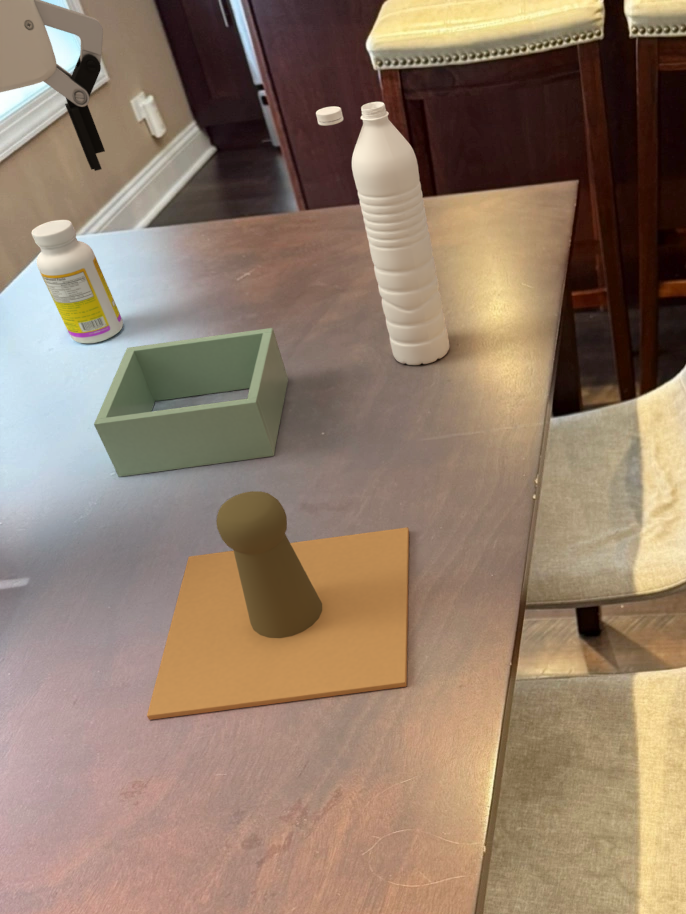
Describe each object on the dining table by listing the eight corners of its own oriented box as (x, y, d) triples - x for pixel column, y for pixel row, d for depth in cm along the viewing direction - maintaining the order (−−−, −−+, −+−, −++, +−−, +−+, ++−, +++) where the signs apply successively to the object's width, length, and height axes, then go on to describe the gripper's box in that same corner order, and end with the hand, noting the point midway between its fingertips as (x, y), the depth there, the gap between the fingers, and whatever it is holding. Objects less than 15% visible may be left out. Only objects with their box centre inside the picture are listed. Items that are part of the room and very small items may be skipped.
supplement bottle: (96, 318, 129) (51, 213, 120) (135, 323, 127) (92, 217, 118) (60, 342, 125) (10, 236, 116) (99, 348, 123) (52, 241, 114)
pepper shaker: (246, 602, 85) (201, 492, 77) (316, 582, 86) (278, 471, 78) (255, 646, 81) (208, 535, 73) (328, 625, 82) (290, 513, 74)
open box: (118, 477, 102) (93, 424, 98) (148, 398, 113) (126, 347, 109) (273, 456, 102) (255, 402, 97) (288, 378, 113) (272, 327, 108)
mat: (148, 720, 77) (146, 715, 77) (190, 560, 91) (188, 556, 90) (406, 686, 77) (405, 682, 76) (409, 531, 90) (408, 526, 90)
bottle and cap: (449, 335, 116) (406, 89, 98) (450, 361, 111) (405, 109, 93) (374, 345, 116) (317, 101, 98) (373, 372, 112) (313, 122, 93)
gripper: (35, -152, 65) (138, 140, 77) (-254, -101, 61) (-96, 197, 74) (45, -143, 60) (154, 166, 72) (-267, -88, 56) (-96, 229, 69)
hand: (28, 181), depth 73 cm, fingers open, 9 cm apart
